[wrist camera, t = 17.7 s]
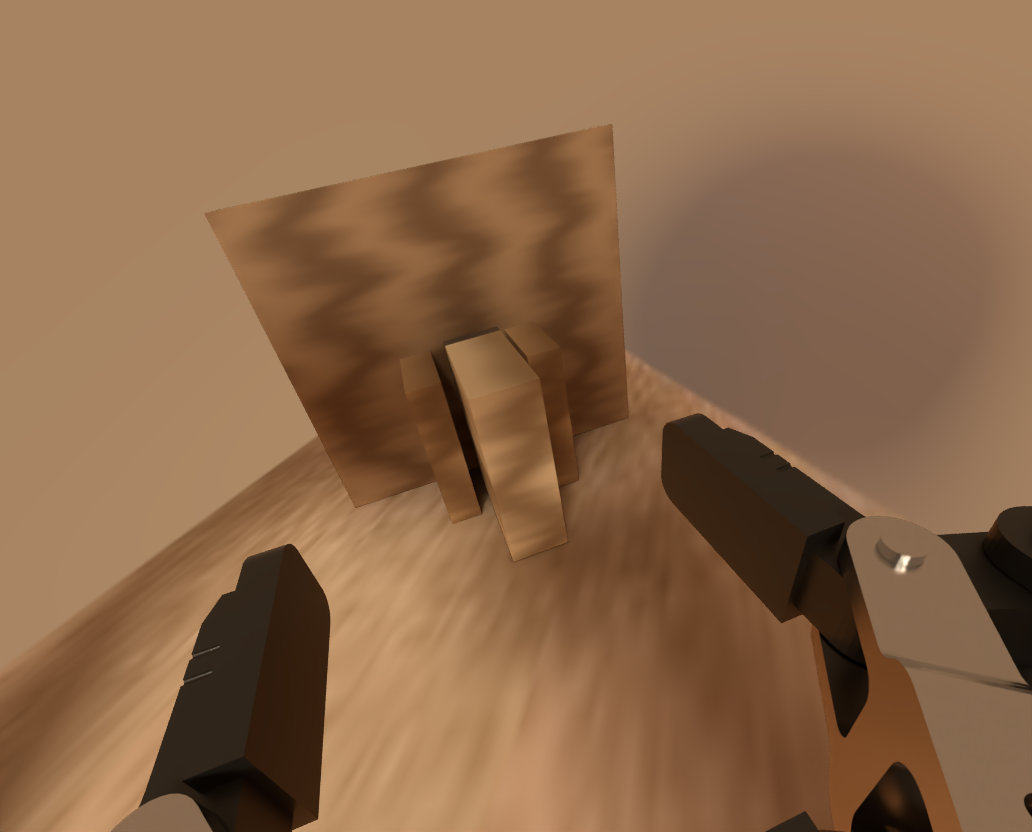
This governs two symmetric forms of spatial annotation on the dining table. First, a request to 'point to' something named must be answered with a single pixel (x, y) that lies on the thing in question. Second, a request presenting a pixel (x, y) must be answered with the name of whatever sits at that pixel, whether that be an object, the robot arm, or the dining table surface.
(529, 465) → the rail end
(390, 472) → the zigzag wooden panel
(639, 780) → the dining table surface
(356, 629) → the dining table surface
